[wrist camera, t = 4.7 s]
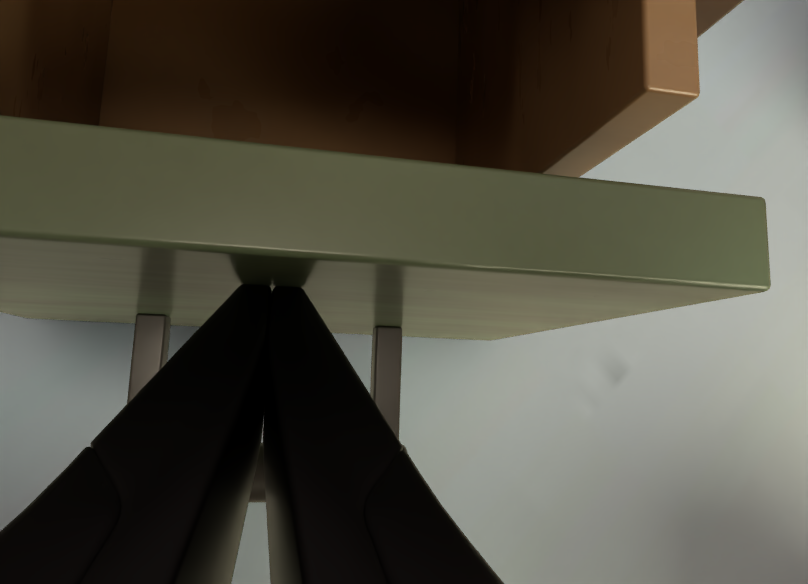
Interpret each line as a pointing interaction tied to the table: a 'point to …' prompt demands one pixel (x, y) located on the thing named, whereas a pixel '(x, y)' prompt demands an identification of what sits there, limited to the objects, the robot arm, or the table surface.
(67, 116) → the cabinet drawer
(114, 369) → the table surface
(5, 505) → the table surface
